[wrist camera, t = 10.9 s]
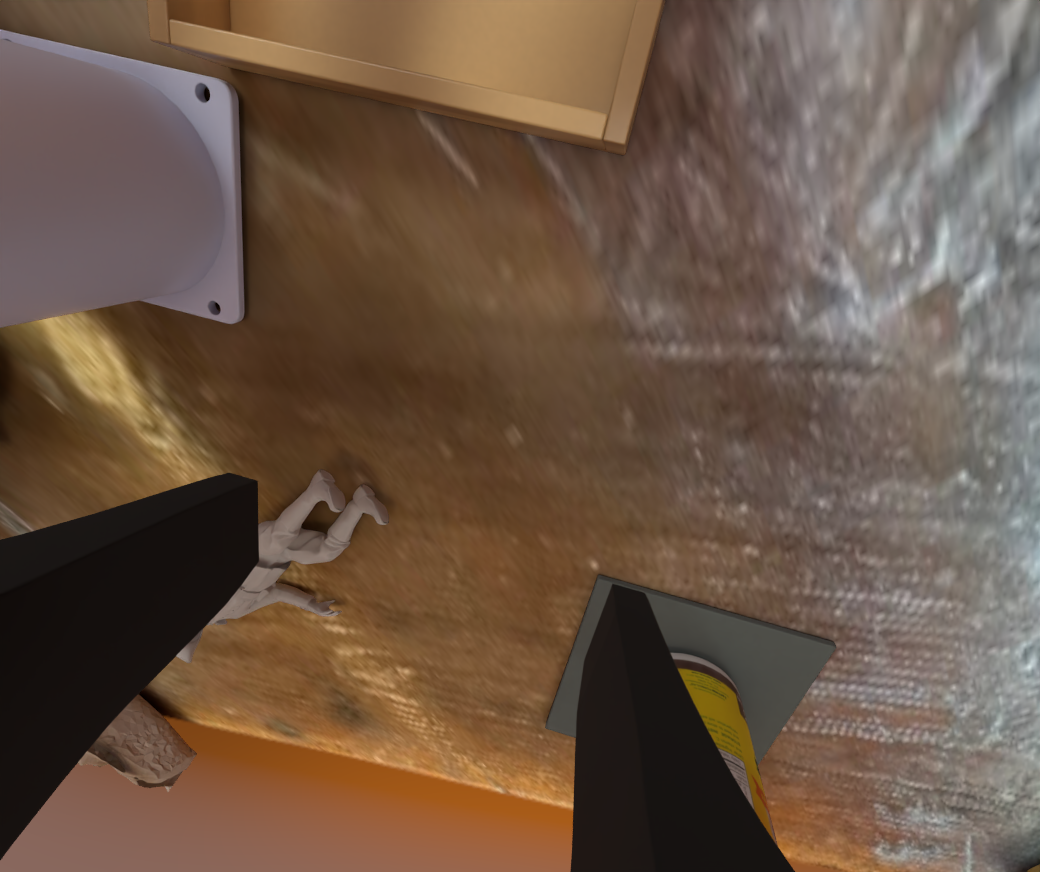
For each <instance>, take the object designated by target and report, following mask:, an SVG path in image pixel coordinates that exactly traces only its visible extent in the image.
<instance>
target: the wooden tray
mask: <svg viewBox="0 0 1040 872" xmlns="http://www.w3.org/2000/svg"><path fill="white" fill-rule="evenodd" d="M665 1H666V0H147V7H148V18H149V29H150V39H151V40H152V41H153V42H156V43H159V44H162V45H165V46H168V47H171V48H174V49H176V50H179V51H182V52H185V53H188V54H191V55H194V56H197V57H199V58H202V59H205V60H208V61H211V62H214V63H217V64H220V65H223V66H225V67H229V68H234V69H238V70H243V71H247V72H252V73H256V74H261V75H265V76H270V77H274V78H279V79H283V80H288V81H292V82H297V83H301V84H306V85H310V86H315V87H319V88H324V89H328V90H332V91H337V92H341V93H346V94H350V95H355V96H359V97H364V98H368V99H373V100H377V101H382V102H386V103H391V104H395V105H400V106H404V107H409V108H413V109H418V110H422V111H427V112H431V113H436V114H440V115H444V116H449V117H453V118H458V119H462V120H467V121H471V122H476V123H480V124H485V125H489V126H494V127H498V128H503V129H507V130H512V131H516V132H521V133H525V134H530V135H534V136H539V137H543V138H548V139H552V140H556V141H561V142H565V143H570V144H574V145H579V146H583V147H588V148H592V149H597V150H601V151H606V152H610V153H615V154H619V155H625V154H626V151H627V147H628V143H629V139H630V135H631V131H632V128H633V124H634V120H635V116H636V112H637V109H638V105H639V101H640V97H641V93H642V89H643V86H644V82H645V78H646V74H647V70H648V66H649V63H650V59H651V55H652V51H653V47H654V43H655V40H656V36H657V32H658V28H659V24H660V20H661V17H662V13H663V9H664V5H665Z"/></svg>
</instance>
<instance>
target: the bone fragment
mask: <svg viewBox="0 0 1040 872" xmlns="http://www.w3.org/2000/svg"><path fill="white" fill-rule="evenodd" d="M196 755H197V753H196V752H195V751H193V750H192V749H191V748H190V747H189V746H188V745H187V744H186V743H185V741H184V740H183V739H182V738H181V737H180V735H179V734H178V733H177V732H176V731H175V730H174V729H173V728H172V726H171V725H170V724H169V723H168V722H167V720H166V719H165V718H164V717H163V716H162V715H161V714H160V713H159V712H158V711H157V710H156V709H154V708H153V707H152V706H151V705H150V704H149V703H148V702H147V701H146V700H144V699H143V698H142V697H141V696H140V695H139V694H138V695H137V696H136V697H135V698H134V699H133V700H132V701H131V702H130V703H129V704H128V705H127V706H126V707H125V708H124V710H123V711H122V712H121V713H120V714H119V715H118V716H117V717H116V718H115V719H114V720H113V721H112V723H111V724H110V725H109V726H108V727H107V728H106V729H105V731H104V732H103V733H102V734H101V735H100V737H99V738H98V739H97V740H96V741H95V743H94V744H93V745H92V746H91V747H90V749H89V750H88V751H87V752H86V753H85V755H84V756H83V757H82V758H81V759H80V761H79V762H78V764H79V765H81V766H83V765H86V764H88V765H89V764H90V765H93V766H99V767H101V766H104V765H107V764H110V765H111V767H113V768H114V769H115V770H117V772H118V773H119V774H121V775H123V776H125V777H126V778H128V779H129V780H130V781H131V782H133V783H134V784H136V785H139V786H142V787H149V788H151V787H161V786H165V788H166V789H167V791H169V790H170V788H172V786H173V784H174V783H175V781H176V780H177V779H178V777H179V776H180V774H181V773H182V771H183V770H186V769H187V768H188V766H189V765H190V763H191V762H192V760H193V759H194V757H195V756H196Z"/></svg>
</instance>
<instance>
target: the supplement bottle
mask: <svg viewBox="0 0 1040 872" xmlns="http://www.w3.org/2000/svg"><path fill="white" fill-rule="evenodd" d="M671 655H672V657H673V660H674V662H675V664H676V666H677V668H678V671H679V673H680V675H681V677H682V679H683V681H684V683H685V685H686V687H687V689H688V691H689V694H690V696H691V698H692V700H693V702H694V704H695V706H696V708H697V710H698V712H699V714H700V716H701V718H702V720H703V722H704V724H705V725H706V727H707V729H708V731H709V733H710V735H711V737H712V738H713V740H714V742H715V744H716V746H717V748H718V749H719V751H720V753H721V755H722V757H723V759H724V760H725V762H726V764H727V766H728V767H729V769H730V771H731V773H732V774H733V776H734V778H735V779H736V781H737V783H738V784H739V786H740V788H741V790H742V791H743V793H744V795H745V796H746V798H747V799H748V801H749V803H750V804H751V806H752V807H753V809H754V811H755V812H756V814H757V815H758V817H759V819H760V820H761V822H762V823H763V825H764V827H765V828H766V830H767V831H768V833H769V834H770V836H771V837H772V839H773V840H774V842H775V843H776V845H777V841H776V837H775V833H774V829H773V825H772V821H771V817H770V814H769V810H768V806H767V802H766V797H765V793H764V789H763V785H762V782H761V777H760V773H759V769H758V765H757V761H756V757H755V753H754V749H753V745H752V741H751V737H750V732H749V729H748V725H747V721H746V716H745V712H744V708H743V705H742V701H741V698H740V695H739V692H738V690H737V688H736V686H735V684H734V683H733V681H732V680H731V679H730V678H729V676H728V675H727V674H726V673H725V672H724V671H722V670H721V669H720V668H718V667H717V666H716V665H714V664H712V663H710V662H709V661H707V660H704V659H702V658H699V657H696V656H693V655H689V654H683V653H671ZM777 846H778V845H777Z"/></svg>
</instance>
